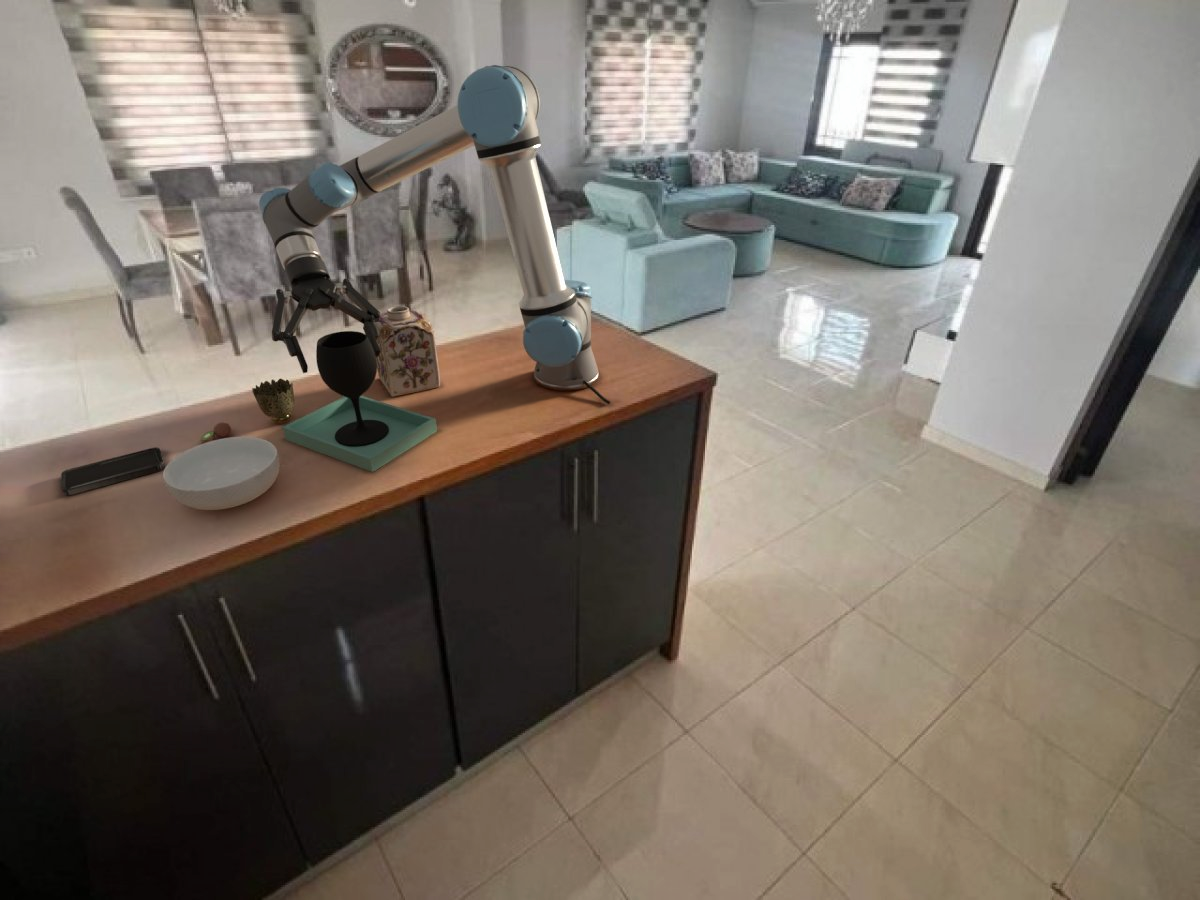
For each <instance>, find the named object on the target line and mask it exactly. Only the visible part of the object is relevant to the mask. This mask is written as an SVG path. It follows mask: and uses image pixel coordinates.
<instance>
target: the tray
mask: <svg viewBox="0 0 1200 900" xmlns="http://www.w3.org/2000/svg"><path fill="white" fill-rule="evenodd" d="M359 407H360V413H361V417H362V420H378V421H381V422H384V423H385V424H387V425H388V427H389V432H388V434H387V435H386V437H384V438H383V439H382V440H380V441H378V442H376V443H373V444H370V445H366V446H358V447H351V446H344V445H341V444H339V443H338V442H337V441H336V439H335V433H336V432H337V430H338V429H340V428H341V427H343V426H344V425H346V424H349V423H351V422H355V421H357V419H356V414H355V410H354V406H353V403H352V401H351V399H350V398H347V397H344V396H342V397H340V398H338V399H336V400H334V401H332V402H330V403H328V404H326V405H324V406H322V407H320V408H318V409H316V410H314V411H312V412H310V413H308V414H306V415H304V416H301V417H300V418H297V419H296V420H294V421H292V422H289V423H288V424H286V425H283V426H282V427H281V428H282V431H283V434H284V439H285V440H286V441H288V442H290V443H294V444H296V445H299V446H302V447H305V448H307V449H309V450H312V451H315V452H318V453H320V454H323V455H326V456H329V457H331V458H334V459H335V460H338V461H342V462H344V463H347V464H349V465H352V466H355V467H357V468H360V469H362V470H365V471H368V472H371V473H374V472H375V471H377V470H378V469H380V468H381V467H383V466H385V465H386V464H388V463H390V462H391V461H392V460H394V459H396V458H397V457H399V456H400V455H402V454H404V453H406V452H407V451H408V450H410V449H411V448H413V447H415V446H416V445H418V444H419V443H421V442H423V441H424V440H426V439H427V438H429V437H430V436H432V435H434V434H436V433H437V432H438V425H437V419H436V418H434V417H431V416H428V415H424V414H422V413H418V412H416V411H412V410H408V409H405V408H402V407H399V406H396V405H393V404H391V403H386V402H384V401H379V400H377V399H373V398H370V397H367V396H364V395H361V396H360V397H359Z"/></svg>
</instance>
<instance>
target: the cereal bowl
mask: <svg viewBox="0 0 1200 900" xmlns="http://www.w3.org/2000/svg"><path fill="white" fill-rule="evenodd" d="M280 464H281V463H280V457H279V451H278V449H277V447H276V446H275V445H274V444H273V443H271V441H269V440H266V439H264V438H260V437H255V436H231V437H223V438H219V439H213V441H210V442H207V443H204V442H203V443H201V444H198V445H195V446H193V447H191V448H189V449H186V450H185V451H182V452H181V453H180V454H178V455H176V456H175V457H174V458H173V459H171V460H170V461H169V462H168V463H167V464H166V465H165V468H164V469H163V471H162V480H163V482H164V484H165V487H166V489H167V490H168V492H169V493H170V495H171V496H172V498H174V499H175V500H176V501H177V502H179V504H182V505H184V506H186V507H188V508H191V509H195V510H203V511H218V510H219V511H220V510H226V509H232V508H235V507H238V506H242V505H244V504H247V503H249V502H251V501H253V500H255V499H257V498H258V497H260V496H261V495H263V494H265V493H266V492H267V491H268V490H269V489H270V488H271V487H272V486H274V485H273V484H274V483H275V482H276V480H277V478H278V476H279V472H280Z"/></svg>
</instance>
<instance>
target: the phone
mask: <svg viewBox="0 0 1200 900" xmlns="http://www.w3.org/2000/svg"><path fill="white" fill-rule="evenodd" d="M165 467H166V464H165V460H164V457H163V452H162V451H161V449H160V447H150V448H147V449H142V450H139V451H135V452H130V453H126V454H122V455H119V456H115V457H111V458H107V459H103V460H100V461H99V460H98V461H95V462H91V463H87V464H84V465H80V466H76V467H72V468H68V469H65V470H64V471H62V472H61V473H60V474H61V475H60V480H61V481H60V483H61V490H62V492H63V495H65V496H72V495H76V494H80V493H83V492H87V491H91V490H95V489H99V488H101V487H102V488H103V487H105V486H109V485H114V484H116V483H121V482H124V481H128V480H131V479H136V478H140V477H143V476H146V475H149V474H153V473H158V472H161V471H164V469H165Z"/></svg>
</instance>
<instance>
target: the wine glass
mask: <svg viewBox="0 0 1200 900" xmlns="http://www.w3.org/2000/svg"><path fill="white" fill-rule="evenodd" d="M315 349H316V351H315V352H316V353H315V355H316V356H315V357H316V366H317V370H318V373H319V376H320V378H321V380H322V382H323V383H324V384H325V385H326V386H327V387H328V389H330V390H331V391H333V392H334V393H336V394H338V395H340V396H342V397H347V398H350V399H351V401H352V403H353V406H354V410H355V414H356V419H357V421H355V422H351V423H349V424H346V425H344V426H343V427H341V428H340V429H338V430H337V432H336V433H335V439H336V441H337V442H338V443H339V444H341V445H344V446H351V447H358V446H366V445H370V444H373V443H376V442H378V441H380V440H382V439H383V438H384V437H386V435H387V434H388V432H389V427H388V425H387V424H385V423H384V422H381V421H378V420H362V417H361V413H360V407H359V397H360V396H363V395H364V394H365V393H366V392H367V391H368V390H369V389H370V388H371V387H372V385H373V383H374V382H375V379H376V376H377V374H378V370H377V362H376V356H375V353H374V350H373V348H372V345H371V343H370V341H369V339H368V338H367V336H366V335H365V332H361V331H356V330H355V331H354V330H344V331H343V330H342V331H336V332H331V333H327V334H325V335H323V336H321V337H320V338H318V340H317V341H316V348H315Z"/></svg>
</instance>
